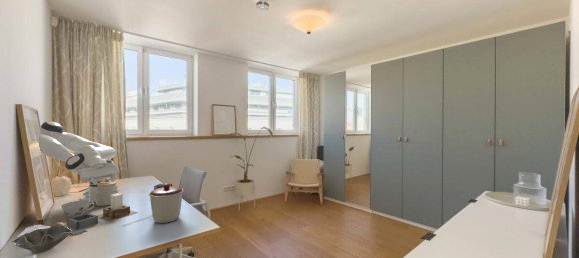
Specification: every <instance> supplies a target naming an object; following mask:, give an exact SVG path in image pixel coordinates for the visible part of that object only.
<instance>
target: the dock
mask: <svg viewBox="0 0 579 258" xmlns="http://www.w3.org/2000/svg"><path fill="white" fill-rule="evenodd" d="M104 224H108V222H106V221H104V220H101V219H99V217H98V216H96V215H95V214H92V213H89V212H85V213H84V214H82V215H79V216H75V217H68V218H66V224H63V225H64V226H66V227H68V228H69V229H71V230H72V236H76V235H75V234H77V235H79V234H78V233H80V234H83V233H85V232H87V231H88V230H89V229H92V228H95V227H99V226H102V225H104Z"/></svg>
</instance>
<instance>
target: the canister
mask: <svg viewBox="0 0 579 258" xmlns="http://www.w3.org/2000/svg"><path fill="white" fill-rule="evenodd" d="M163 184H164V185H163V187H162V188H158V189H155V190H154V189H153V190H152V191H150V192H149V193H148V196H149V200H150V206H151V207H150V208H151V213H152V218H153V221H154V222H155V223H157V224H169V223H173V222H175V221H176V220H178V218H179V217H180V214H181V208H182V202H183V201H182V199H183V193H184V192H185V191H184V189H183V188H181V187H180V186H172V187H170V184H171V183H163Z"/></svg>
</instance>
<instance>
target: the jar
mask: <svg viewBox="0 0 579 258" xmlns="http://www.w3.org/2000/svg"><path fill="white" fill-rule="evenodd" d="M97 185H98V186H97V187H96V188H95V189H96V202H95V205H96V206H99V207H105V206H111V195H112V194H116V193H119V189H118V187H119V184H118V181H116V180H115V181H113V182H111V179H110V180H109V179H108V178H106V179H105V181H102V182H100V183H98V184H97Z"/></svg>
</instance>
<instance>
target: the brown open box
mask: <svg viewBox="0 0 579 258" xmlns="http://www.w3.org/2000/svg"><path fill="white" fill-rule="evenodd" d="M135 214H139V212H138V211H133V210H131V206H129V205H126V204H123V208H121V209H118V210H111V206H109V207H105V208H102V213H99V214H97V215H96V216H98V219H99V218H100V219H102V220H106V221H108V222H114V221H117V220H120V219H124V218H127V217H130V216H132V215H133V216H134V215H135Z"/></svg>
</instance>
